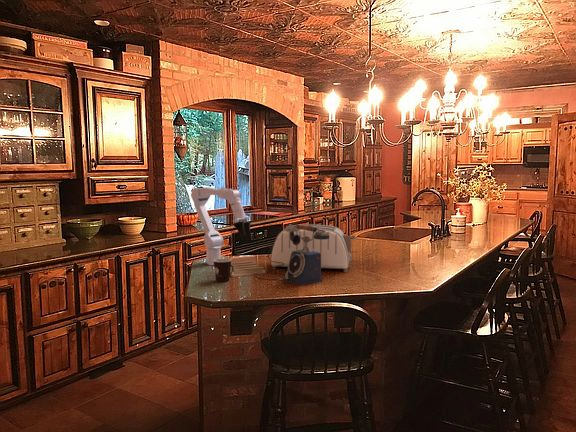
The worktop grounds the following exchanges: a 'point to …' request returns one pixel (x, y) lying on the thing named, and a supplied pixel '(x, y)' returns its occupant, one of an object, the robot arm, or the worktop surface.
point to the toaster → (315, 247)
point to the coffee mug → (222, 269)
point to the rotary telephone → (302, 258)
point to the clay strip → (243, 259)
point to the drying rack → (246, 269)
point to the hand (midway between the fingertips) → (245, 235)
